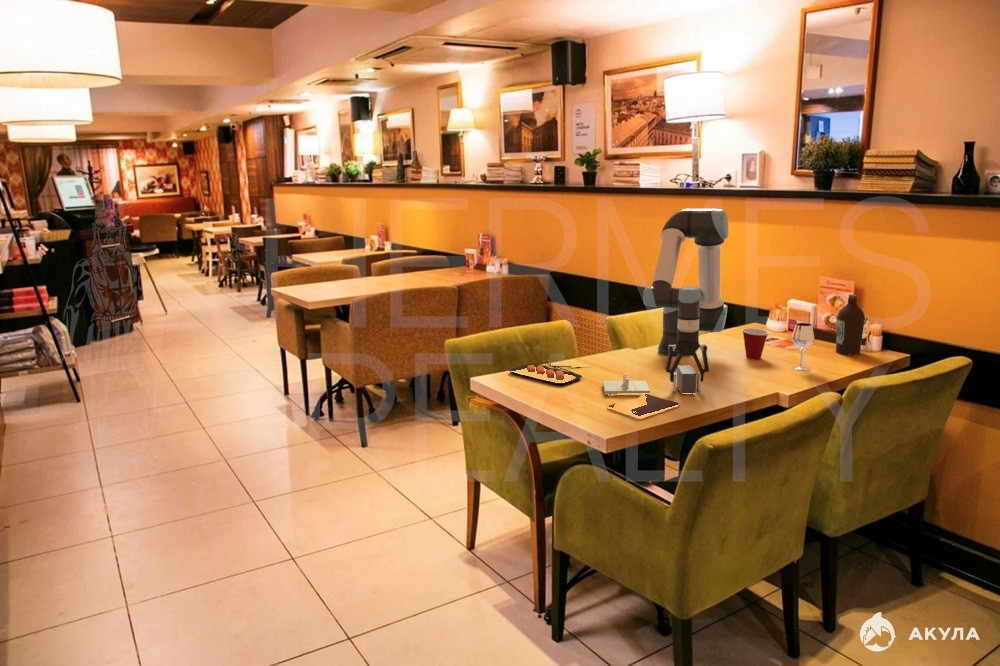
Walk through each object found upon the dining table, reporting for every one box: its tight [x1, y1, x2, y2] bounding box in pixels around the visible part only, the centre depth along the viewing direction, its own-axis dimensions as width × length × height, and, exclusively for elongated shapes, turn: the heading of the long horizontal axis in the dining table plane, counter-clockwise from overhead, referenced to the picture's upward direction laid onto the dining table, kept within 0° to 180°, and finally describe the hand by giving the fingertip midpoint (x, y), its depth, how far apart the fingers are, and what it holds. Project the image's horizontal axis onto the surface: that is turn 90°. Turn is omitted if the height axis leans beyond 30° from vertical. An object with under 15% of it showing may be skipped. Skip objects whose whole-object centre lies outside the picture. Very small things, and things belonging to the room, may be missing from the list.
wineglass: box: [791, 322, 815, 371], centre depth 284 cm, size 8×8×18 cm
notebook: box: [608, 394, 680, 416], centre depth 246 cm, size 15×20×2 cm
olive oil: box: [835, 294, 866, 356], centre depth 303 cm, size 11×11×25 cm
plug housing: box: [676, 365, 697, 394], centre depth 262 cm, size 11×5×8 cm, turn 176°
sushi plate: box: [509, 362, 583, 385], centre depth 291 cm, size 29×30×4 cm
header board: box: [602, 373, 651, 396], centre depth 264 cm, size 12×16×6 cm
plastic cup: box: [741, 327, 770, 361], centre depth 301 cm, size 11×11×12 cm
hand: (686, 390), depth 263 cm, fingers open, 8 cm apart
